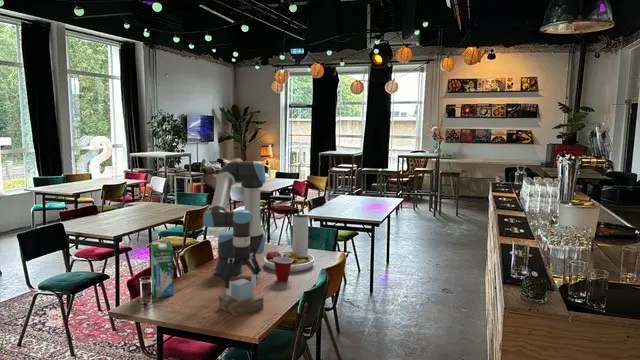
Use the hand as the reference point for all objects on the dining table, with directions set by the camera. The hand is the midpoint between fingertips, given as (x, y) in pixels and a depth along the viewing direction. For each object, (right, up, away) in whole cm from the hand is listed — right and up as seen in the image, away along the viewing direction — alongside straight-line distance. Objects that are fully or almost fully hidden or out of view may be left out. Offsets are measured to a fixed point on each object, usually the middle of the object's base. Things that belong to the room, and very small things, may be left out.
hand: (241, 291), depth 199 cm
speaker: (+22, +1, +94) cm, 97 cm away
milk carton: (-41, -5, +17) cm, 45 cm away
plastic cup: (+15, -4, +40) cm, 43 cm away
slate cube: (0, -3, 0) cm, 3 cm away
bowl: (+17, -2, +67) cm, 69 cm away
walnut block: (0, -8, +1) cm, 8 cm away
